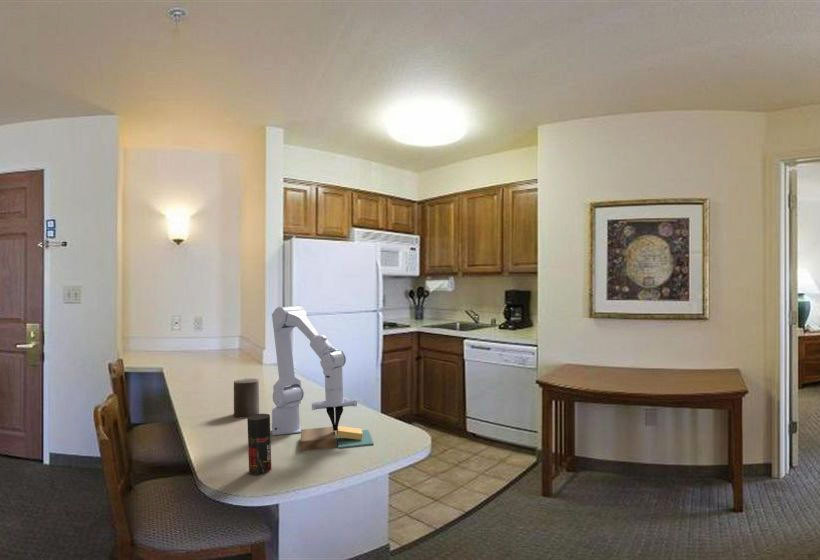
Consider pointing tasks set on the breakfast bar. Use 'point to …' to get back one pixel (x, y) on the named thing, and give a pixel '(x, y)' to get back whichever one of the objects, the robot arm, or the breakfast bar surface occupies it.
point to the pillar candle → (246, 397)
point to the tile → (349, 432)
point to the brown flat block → (317, 439)
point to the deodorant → (259, 444)
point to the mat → (355, 441)
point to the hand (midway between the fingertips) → (335, 429)
